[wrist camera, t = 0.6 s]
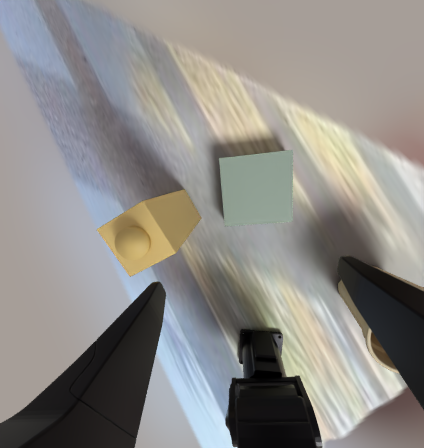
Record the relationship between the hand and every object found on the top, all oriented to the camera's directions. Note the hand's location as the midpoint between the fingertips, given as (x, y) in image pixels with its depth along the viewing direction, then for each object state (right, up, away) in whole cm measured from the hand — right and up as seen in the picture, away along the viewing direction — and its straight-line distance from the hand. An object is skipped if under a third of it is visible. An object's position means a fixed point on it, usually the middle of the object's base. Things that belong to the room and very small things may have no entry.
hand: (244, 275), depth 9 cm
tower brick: (-6, +4, +16) cm, 18 cm away
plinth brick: (+4, +7, +14) cm, 16 cm away
